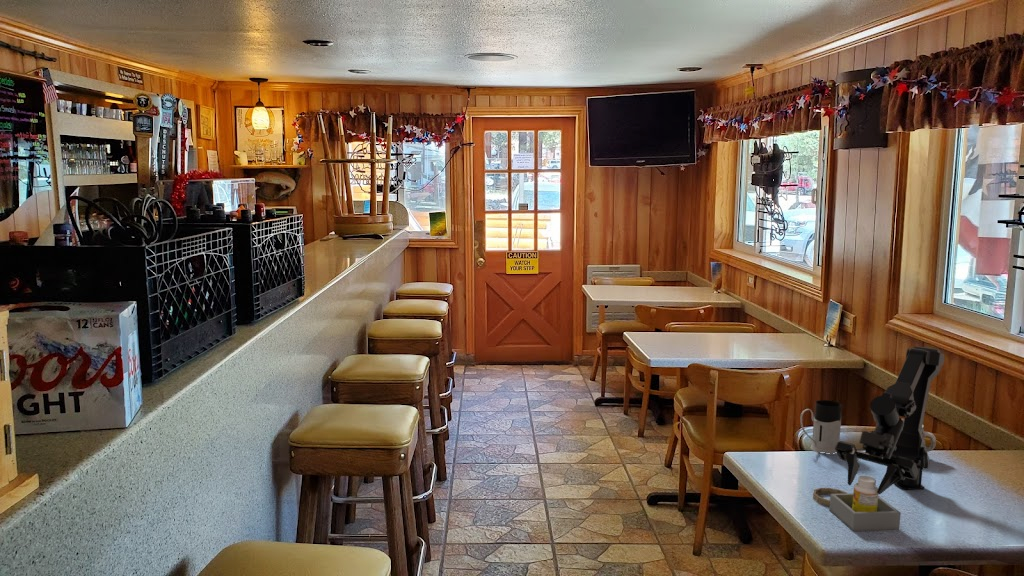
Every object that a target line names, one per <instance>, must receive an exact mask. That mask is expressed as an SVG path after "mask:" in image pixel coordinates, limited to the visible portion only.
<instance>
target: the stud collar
mask: <svg viewBox="0 0 1024 576" xmlns="http://www.w3.org/2000/svg"><path fill="white" fill-rule="evenodd" d="M846 493H848V492H846V491H843V490H841V489H839V488H838V489H837V488H832V487H818V488H816V489H814V490H813V494H812V499H813V500H814V501H815V502H816V503H818V504H820V505H823V506H825V507H829V508H830V499H826V498H824V497H821V496H820V495H831V494H846Z"/></svg>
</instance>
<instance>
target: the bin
mask: <svg viewBox="0 0 1024 576" xmlns="http://www.w3.org/2000/svg"><path fill="white" fill-rule="evenodd" d="M853 493H854V492H851V493H848V492H847V493H846V494H830V498H829V500H830V507H829V512H830V513H832V514H833V515H834V516H835V517H836V518H837V519H838V520H839V521H841V522H842V523H843V524H844V525H845V526H846V527H847V528H849V530H850V531H852V532H879V531H880V532H881V531H883V532H884V531H885V532H886V531H900V527H901V526H900V525H901V524H900V523H901V514H902V513H901V511H899V510H898V509H897V508H896V507H894V506H893V505H891V504H890V503H889V502H887V501H886V500H885V499H883V498H882V497H881V496H880V495H878V504H877V512H855V511H854V510H853V509H852V505H853Z"/></svg>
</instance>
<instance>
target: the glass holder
mask: <svg viewBox="0 0 1024 576" xmlns="http://www.w3.org/2000/svg"><path fill="white" fill-rule="evenodd" d="M814 405H815V406H814V408H815V409H814V412H813V410H811V408H806V409H804V410H802V412H801V413H800V419H799V420H800V427H801V430H802V432H803V433H804V435H806V437H808V438H809V440H811V441H812V442H811V446H810V450H811V451H813V452H815V453H818V452H825V453H830V454H833V453H835V452H836V450H835V446H836V444H837V443H838V442H839V441H841V427H842V405H843V404H842V403H840V402H838V401H834V400H829V399H828V400H827V399H824V400H823V399H820V400H818V399H817V400H816V401H815V404H814ZM807 411H810V413H811V421H812V422H813V425H812V427H813V428H812V437H811V436H810V435H809V434H808V433H807V431H806V430H805V428H804V424H803V417H804V416H803V415H804V413H805V412H807Z"/></svg>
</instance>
